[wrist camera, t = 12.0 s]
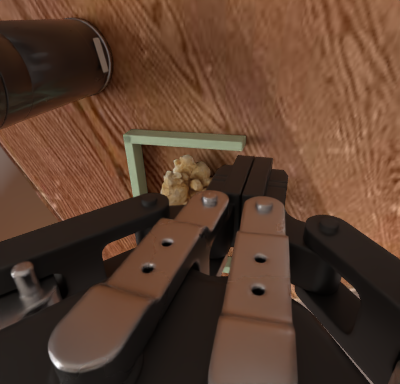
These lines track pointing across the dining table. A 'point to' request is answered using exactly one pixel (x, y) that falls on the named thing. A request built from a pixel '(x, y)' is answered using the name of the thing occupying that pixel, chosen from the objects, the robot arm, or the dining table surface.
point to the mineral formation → (185, 180)
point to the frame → (176, 139)
